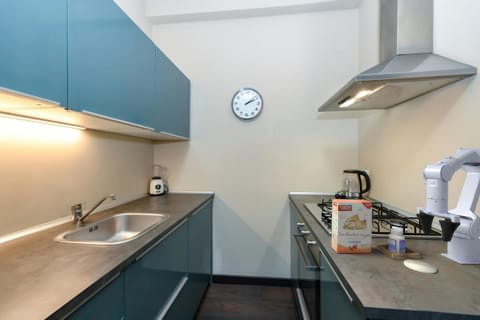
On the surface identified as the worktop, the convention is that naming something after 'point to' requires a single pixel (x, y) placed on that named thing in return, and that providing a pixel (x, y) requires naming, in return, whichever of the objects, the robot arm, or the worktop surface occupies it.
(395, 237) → the pill bottle
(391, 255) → the socket block
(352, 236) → the cracker box
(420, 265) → the white disc
